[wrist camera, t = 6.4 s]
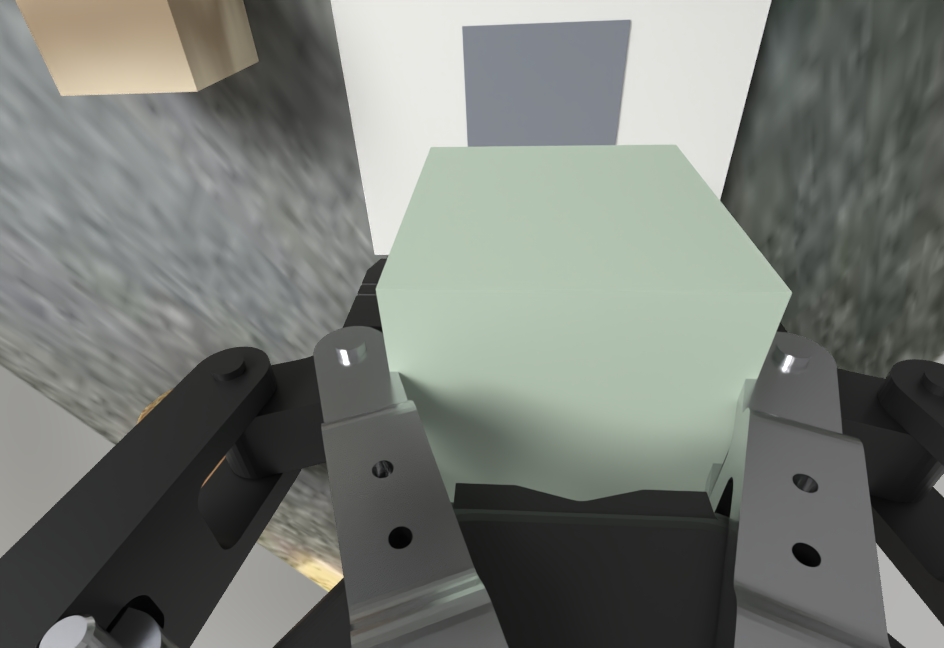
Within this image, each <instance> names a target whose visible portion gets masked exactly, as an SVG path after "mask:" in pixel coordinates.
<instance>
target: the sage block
mask: <svg viewBox="0 0 944 648" xmlns="http://www.w3.org/2000/svg"><path fill="white" fill-rule="evenodd" d="M376 294H377V300H378V306H379V312H380V318H381V324H382V330H383V336H384V342H385V348H386V354H387V360H388V366H389V372H398V373H399V376H400V379H401V382H402V385H403V388H404V390H405V393H406V396H407V399H408V400H413V402H414V404H415V406H416V408H417V411H418V414H419V417H420V419H421V422H422V425H423V428H424V430H425V433H426V436H427V439H428V441H429V444H430V447H431V450H432V452H433V455H434V458H435V461H436V463H437V466H438V469H439V472H440V474H441V477H442V480H443V483H444V485H445V488H446V491H447V494H448V496H449V499H450V502H454V495H455V485H456V483H471V484H500V485H518V486H521V487H525V488H529V489H533V490H537V491H541V492H544V493H548V494H552V495H556V496H560V497H564V498H567V499H571V500H576V501H588V500H593V499H598V498H603V497H608V496H613V495H618V494H623V493H628V492H633V491H638V490H643V489H644V490H673V491H702V492H705V487H706V480H707V477H708V475H709V472H710V470H711V467H712V465H713V463H720V464H723V463H724V460H725V458H726V455H727V453H728V450H729V448H730V444H731V440H732V436H733V430H734V423H735V415H736V407H737V400H738V397H739V395H740V392H741V390H742V387H743V384H744V382H745V379H757V378H758V376H759V373H760V371H761V368H762V366H763V363H764V361H765V358H766V356H767V354H768V351H769V349H770V346H771V344H772V341H773V339H774V336H775V334H776V331H777V329H778V326H779V324H780V321H781V319H782V316H783V314H784V311H785V309H786V306H787V304H788V301H789V299H790V296H791V294H792V292H791V291H790V289H789V288H788V287H787V285H786V284H785V283H784V282H783V280H782V279H781V278H780V277H779V275H778V274H777V273H776V271H775V270H774V269H773V268H772V266H771V265H770V264H769V263H768V261H767V260H766V259H765V257H764V256H763V255H762V254H761V252H760V251H759V250H758V248H757V247H756V246H755V245H754V243H753V242H752V241H751V240H750V238H749V237H748V236H747V234H746V233H745V232H744V231H743V229H742V228H741V227H740V226H739V224H738V223H737V222H736V220H735V219H734V218H733V217H732V215H731V214H730V213H729V212H728V210H727V209H726V208H725V206H724V205H723V204H722V203H721V201H720V200H719V199H718V197H717V196H716V195H715V194H714V192H713V191H712V190H711V189H710V187H709V186H708V185H707V183H706V182H705V181H704V180H703V178H702V177H701V176H700V175H699V173H698V172H697V171H696V169H695V168H694V167H693V166H692V164H691V163H690V162H689V160H688V159H687V158H686V157H685V155H684V154H683V153H682V152H681V150H680V149H679V148H678V146H677V145H582V146H488V147H431V148H430V150H429V153H428V156H427V158H426V161H425V163H424V166H423V168H422V171H421V174H420V176H419V179H418V181H417V184H416V186H415V189H414V192H413V194H412V197H411V199H410V202H409V204H408V207H407V210H406V212H405V215H404V217H403V220H402V222H401V225H400V228H399V230H398V233H397V235H396V238H395V240H394V243H393V246H392V248H391V251H390V253H389V256H388V259H387V261H386V264H385V266H384V269H383V271H382V274H381V277H380V279H379V282H378V284H377V287H376Z"/></svg>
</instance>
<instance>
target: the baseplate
mask: <svg viewBox="0 0 944 648" xmlns="http://www.w3.org/2000/svg"><path fill="white" fill-rule="evenodd" d="M770 4H771V0H331V5H332V11H333V17H334V23H335V28H336V34H337V40H338V46H339V51H340V57H341V63H342V69H343V74H344V80H345V86H346V92H347V97H348V103H349V109H350V115H351V120H352V126H353V132H354V138H355V143H356V149H357V155H358V161H359V166H360V172H361V178H362V184H363V189H364V195H365V201H366V207H367V212H368V218H369V224H370V230H371V235H372V241H373V247H374V253H375V255H389V253H390V251H391V248H392V246H393V243H394V240H395V238H396V235H397V233H398V230H399V228H400V225H401V222H402V220H403V217H404V215H405V212H406V210H407V207H408V204H409V202H410V199H411V197H412V194H413V192H414V189H415V186H416V184H417V181H418V179H419V176H420V174H421V171H422V168H423V166H424V163H425V161H426V158H427V156H428V153H429V150H430V148H431V147H488V146H582V145H677V146H678V148H679V149H680V150H681V152H682V153H683V154H684V155H685V157H686V158H687V159H688V160H689V162H690V163H691V164H692V166H693V167H694V168H695V169H696V171H697V172H698V173H699V175H700V176H701V177H702V178H703V180H704V181H705V182H706V183H707V185H708V186H709V187H710V189H711V190H712V191H713V192H714V194H715V195H716V196H717V197H718V199H719V200H720V198H721V195H722V191H723V187H724V183H725V179H726V175H727V171H728V167H729V163H730V160H731V156H732V152H733V148H734V144H735V140H736V136H737V132H738V128H739V125H740V121H741V117H742V113H743V109H744V105H745V101H746V97H747V93H748V90H749V86H750V82H751V78H752V74H753V70H754V66H755V62H756V58H757V55H758V51H759V47H760V43H761V39H762V35H763V31H764V27H765V23H766V20H767V16H768V12H769V8H770Z"/></svg>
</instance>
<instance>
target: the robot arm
mask: <svg viewBox="0 0 944 648" xmlns="http://www.w3.org/2000/svg"><path fill="white" fill-rule="evenodd" d="M386 261H387V259H380V260H379V261H378V262H377V263H375V264H374V265H373V266H372V267H371V268H369V269H368V270H367V273H366V275H365V277H364V280H363V282H362V285H361V287H360V289H359V291H358V296H356V298H355V300H354V303H353V305H352V307H351V310H350V312H349V314H348V317H347V319H346V321H345V324H344V326H343V328H341V329H338V330H336V331H333V332H331V333H329V334H328V335H326V336H325V337H323V338H322V339H321V340H320V341H319V342H318V343H317V345H316V347H315V349H314V352H313V353H314V356H311V357H308V358H304V359H300V360H296V361H291V362H286V363H281V364H276V365H271V364H270V361H269V358H268V356H267V355H266V353H265V352H263V351H262V350H259V349H257V348H253V347H236V348H230V349H226V350H223V351H220V352H218V353H215V354H213V355H211V356H209V357H208V358H206V359H205V360H203V361H202V362H201V363H199V364H198V365H197V366H196V367H195V368H194V369H193V370H192V371H191V372H190V373H189V374H188V375H187V376H186V377H185V378H184V379H183V380H182V381H181V382H180V383H179V384H178V385H177V386H176V387H175V388H174V389H173V390H172V391H171V392H170V393H169V394H168V395H167V396H166V397H165V398H163V399H162V400H161V401H160V402H159V403H158V404H157V405H156V406H155V407H154V408H153V409H152V410H151V411H150V412H149V413H148V414H147V415H146V416H145V417H144V418H143V419H142V420H141V421H140V422H139V423H138V424H137V425H136V426H135V427H134V428H133V429H132V430H131V431H130V432H129V433H128V434H127V435H126V436H125V437H124V438H123V439H122V440H121V441H120V442H119V443H118V444H117V445H116V446H115V447H113V448H112V449H111V450H110V452H108V453H107V454H106V455H105V456H104V457H103V458H102V459H101V460H100V461H99V462H98V463H97V464H96V465H95V466H94V467H93V468H92V469H91V470H90V471H89V472H88V473H87V474H86V475H85V476H84V477H83V478H82V479H81V480H80V481H79V482H78V483H77V484H76V485H75V486H74V487H73V488H72V489H71V490H70V491H69V492H68V493H67V494H66V495H65V496H63V498H61V499H60V500H59V501H58V502H57V504H55V505H54V506H53V507H52V508H51V509H50V510H49V511H48V512H47V513H46V514H45V515H44V516H43V517H42V518H41V519H40V520H39V521H38V522H37V523H36V524H35V525H34V526H33V527H32V528H31V529H30V530H29V531H28V532H27V533H26V534H25V535H24V536H23V537H22V538H21V539H20V540H19V541H18V542H17V543H16V544H15V545H13V547H11V549H10V550H9V551H7V552H6V553H5V555H3V556H2V557H1V558H0V648H190V646H191V645H192V643H193V641H194V640H195V638H196V637H197V635H198V634H199V632H200V630H201V629H202V627H203V626H204V624H205V622H206V621H207V619H208V618H209V616H210V615H211V613H212V611H213V610H214V608H215V607H216V605H217V603H218V602H219V600H220V598H221V597H222V595H223V594H224V592H225V591H226V589H227V587H228V586H229V584H230V583H231V581H232V580H233V578H234V576H235V575H236V573H237V572H238V570H239V568H240V567H241V565H242V564H243V562H244V560H245V559H246V557H247V556H248V554H249V553H250V551H251V549H252V548H253V546H254V545H255V543H256V541H257V540H258V538H259V537H260V535H261V533H262V532H263V530H264V529H265V527H266V526H267V524H268V522H269V521H270V519H271V518H272V516H273V514H274V513H275V511H276V510H277V508H278V506H279V505H280V503H281V502H282V500H283V499H284V497H285V495H286V494H287V492H288V491H289V489H290V487H291V486H292V484H293V483H294V481H295V479H296V478H297V476H298V475H299V473H300V471H301V469H302V468H304V467H309V466H313V465H317V464H321V463H325V462H326V463H327V469H328V476H329V483H330V489H331V496H332V503H333V509H334V516H335V522H336V529H337V536H338V542H339V549H340V555H341V562H342V569H343V575H344V578H343V579H342V580H341V581H340V582H339V583H338V584H337V585H336V586H335V587H334V588H333V589H332V590H331V591H330V592H329V593H328V594H327V595H326V596H325V597H323V598H322V599H321V601H320V602H319V603H318V604H316V605H315V606H314V607H313V608H312V609H311V610H310V611H309V612H308V613H307V614H306V615H305V616H304V617H303V618H302V619H301V620H300V621H299V622H298V623H297V624H296V625H295V626H294V627H293V628H292V629H291V630H290V631H289V632H288V633H287V634H286V635H285V636H284V637H283V638H282V639H281V640H280V641H279V642H278V643H277V644H276V645H275V646H274V647H273V648H905V647H904V646H903V645H902V644H900V643H899V642H898V641H897V640H896V639H894V638H893V637H892V636H891V635H890V634H888V633H887V628H886V619H885V612H884V604H883V596H882V588H881V580H880V572H879V564H878V557H877V549H876V543H877V544H878V546H879V547H880V548H881V549H882V551H883V552H884V553H885V554H886V555H887V557H888V558H889V559H890V560H891V561H892V563H893V564H894V565H895V567H896V568H897V569H898V570H899V572H900V573H901V574H902V575H903V577H904V578H905V579H906V580H907V581H908V583H909V584H910V585H911V586H912V588H913V589H914V590H915V591H916V593H917V594H918V595H919V596H920V598H921V599H922V600H923V601H924V603H926V605H927V606H928V607H929V609H930V610H931V611H932V612H933V614H934V615H935V616H936V617H937V619H938V620H939V621H940V622H941V624H942V625H943V626H944V497H943V496H942V495H941V494H939V492H938V491H937V490H936V489H935V488H934V487H933V486H934V485H935V483H936V482H937V481H938V480H939V478H940V477H941V476H942V475H943V474H944V365H943V364H940V363H936V362H932V361H926V360H905V361H901V362H898V363H896V364H895V365H894V366H893V367H892V369H891V371H890V372H889V374H888V376H887V377H886V379H883V378H878V377H873V376H869V375H864V374H859V373H855V372H850V371H846V370H842V369H838V368H837V366H836V362H835V360H834V358H833V357H832V355H831V354H830V353H829V352H828V351H827V350H826V349H825V348H823V347H822V346H820V345H819V344H817V343H815V342H814V341H812V340H809V339H807V338H805V337H802V336H799V335H795V334H791V333H787V331H786V330H785V328H784V327H783V325H782V324H781V322H780V324H779V326H778V329H777V331H776V334H775V336H774V339H773V341H772V344H771V346H770V349H769V351H768V354H767V356H766V358H765V361H764V363H763V366H762V368H761V371H760V373H759V376H758V378H757V379H745V382H744V384H743V387H742V390H741V392H740V395H739V397H738V400H737V407H736V415H735V423H734V430H733V436H732V440H731V444H730V448H729V450H728V453H727V455H726V458H725V460H724V463H723V464H720V463H713V465H712V467H711V470H710V472H709V475H708V477H707V480H706V487H705V492H702V491H673V490H644V489H643V490H638V491H633V492H628V493H623V494H618V495H613V496H608V497H603V498H598V499H593V500H588V501H576V500H571V499H567V498H564V497H560V496H556V495H552V494H548V493H544V492H541V491H537V490H533V489H529V488H525V487H521V486H518V485H500V484H471V483H456V485H455V495H454V502H450V499H449V496H448V494H447V491H446V488H445V485H444V483H443V480H442V477H441V474H440V472H439V469H438V466H437V463H436V461H435V458H434V455H433V452H432V450H431V447H430V444H429V441H428V439H427V436H426V433H425V430H424V428H423V425H422V422H421V419H420V417H419V414H418V411H417V408H416V406H415V404H414V402H413V400H408V399H407V396H406V393H405V390H404V388H403V385H402V382H401V379H400V376H399V373H398V372H389V366H388V360H387V354H386V348H385V342H384V336H383V330H382V324H381V318H380V312H379V306H378V300H377V294H376V287H377V284H378V282H379V279H380V277H381V274H382V271H383V269H384V266H385V264H386ZM224 456H225V459H224V460H223V461H222V462H221V464H220V465H219V466H218V467H217V469H216V470H215V471H214V472H213V474H212V475H211V476H210V478H209V479H208V480H207V481H206V483H205V484H204V485H203V483H204V482H205V480H206V479H207V477H208V476H209V475H210V474H211V472H212V471H213V470H214V469H215V467H216V466H217V465H218V464H219V462H220V461H221V460H222V459H223V457H224ZM202 485H203V486H202ZM201 487H202V488H201Z"/></svg>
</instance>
